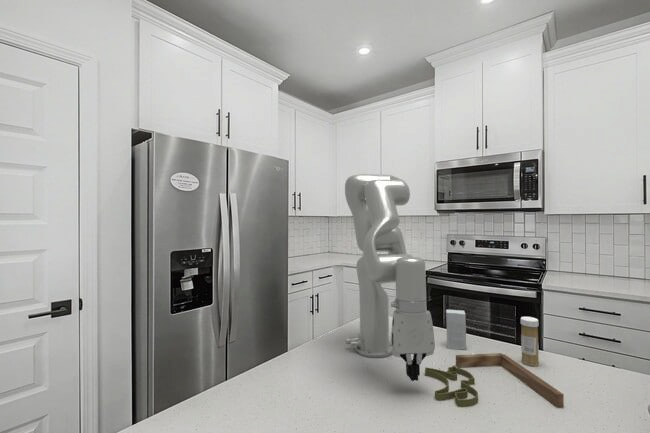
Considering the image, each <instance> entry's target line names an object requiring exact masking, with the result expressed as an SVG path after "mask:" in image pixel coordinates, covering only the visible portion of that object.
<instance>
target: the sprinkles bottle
mask: <svg viewBox="0 0 650 433" xmlns="http://www.w3.org/2000/svg"><path fill="white" fill-rule="evenodd" d="M539 324H540V322H539V319H538V318H536V317H533V316H521V317H520V325H521V330H520V331H521V334H520V341H521V342H520V343H521V344H520V345H521V347H520V348H521V350H520V352H521V358H520V359H521V363H523V365H526V366H530V367H537V366H539V365H540V362H539V350H540V349H539V348H540V347H539Z"/></svg>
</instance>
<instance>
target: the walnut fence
mask: <svg viewBox="0 0 650 433" xmlns="http://www.w3.org/2000/svg"><path fill="white" fill-rule="evenodd" d="M455 366H456V368H460V369H463V368H479V367H480V368H481V367H500V366H501V367H502V368H503V369H504V370H506V371H508V373H510V374H511V375H513V376H514V377H516V379H518V380H520V381H521V382H522V383H523V384H524V385H527V387H528V388H531V389H532V391H534V392H536V393H537V394H538V395H539V396H541V397H542V398H544V399H545V400H546V401H547V402H549V403H550V404H552V405H553V406H555V407H556V408H564V406H565V405H564V402H565V400H564V397H565V396H564V393H562V392H561V391H559V389H557V388H555V387H554V386H553V385H550V383H548V382H546V381H545V380H543V379H542V378H541V377H539V376H538V375H536V374H534V373H533V372H532V371H530V370H528V369H527V368H525V367H524V366H523V365H521V364H520V363H518V362H517V361H515V360H514V359H512V358H511V357H510V356H508V355H507V354H505V353H504V354H503V353H500V352H498V353H496V352H495V353H477V354H473V353H471V354H456V355H455Z"/></svg>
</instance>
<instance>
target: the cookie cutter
mask: <svg viewBox="0 0 650 433" xmlns="http://www.w3.org/2000/svg"><path fill="white" fill-rule="evenodd" d="M458 375H461V376H464V377H465V378H467V379H461V380H460V388H459V389H456V390H452V391H449V390H450V385H449V380H451V381H453V382H455V381H458ZM424 376H426V377H429V378H432V379H436V380H438V381H440V382H441V383H443V384H444V385H445V386H444V387H443V388H440V389H437V390H434V399H435V400H436V401H437V402H439V401H443V402H444V401H448V400H453V399H454V401H455V402H454V403H455V404H456V406H457V408H466V407H473V406H475V405H477V404H478V403H479V392H478V390H477V389H475V388H474V387H472V386H473V385H476V384H475V380H476V379H475V377H474V375H473V374H472V373H471V372H469V371H468V370H467V369H463V368H458V367H457V366H456V365H452V366H449V367H448V368H447V371H444V370H441V369H436V368H431V367H425V368H424ZM471 385H472V386H471ZM468 393H469V394H470V395H472V396H473V397H471V398H468V397H469V396H468Z"/></svg>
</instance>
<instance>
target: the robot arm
mask: <svg viewBox="0 0 650 433" xmlns="http://www.w3.org/2000/svg"><path fill="white" fill-rule="evenodd" d="M344 196H345V199H346V203H347V206H348V208H349V210H350V214H351V215H352V218H353V220H352V221H353V226H354V233H355V239H356V245H357V248H358V249H359V250H360V251H361V252H362V254H363V256H361V257H360V258H359V259H358V260H357V262H356V264H355V265H356V274H357V280H358V281H357V282H358V288H359V290H358V291H359V333H357V336H355V337H346V338H345V343H346V345H350V346H351V347H354V346H355V348H354V349H355V352H357V353H358V354H359V355H362V356H364V357H369V358H385V357H389V356H391V355H392V356H393V357H396V358H401V359H402V360H403V361H404V362H405V373H406V377H408V378H409V379H410V381H412V382H414V381H417V382H419V376H420V375H421V373H420V372H421V370H420V365H421V364H422V361H424V359H425V358H426V357H428V356H432V355H434V351H435V349H436V341H435V334H434V333H435V332H434V330H435V329H434V325H433V319H432V314H431V311H430V310H427V278H426V273H427V272H426V262H425V260H424V259H423V258H421V257H417V256H413V255H411V254H408V253H407V249H406V245H405V239H404V235H403V233H402V231H401V228H399V225H400V223H401V222H400V221H401V220H400V216H399V213H398V210H397V206H400V207H401V206H405V205H407V204H408V202H409V201H410V198H411V191H410V187H409V186H408V183H407V182H406V181H405V180H404V179H401V178H399V177H396V176H394V175H390V174H372V173H371V174H368V173H367V174H365V173H361V174H360V173H359V174H353V175H351V176H348V178H347V179H346V180H345V184H344ZM378 252H383V254H382V253H379V254H378ZM384 252H386V253H384ZM389 283H390V284H391V283H395V298H394V299H395V300H393V301H391V302H389V296H388V293H387V292H386V290H385V289H384V288H383V287H382V284H389ZM389 303H390V305H389ZM389 306H390V307H389ZM389 308H395V310H393V314H392V320H391V331H390V326H389V325H390V318H389V317H390V314H389V313H390V310H389ZM390 332H391V333H390ZM390 340H391V343H390Z"/></svg>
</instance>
